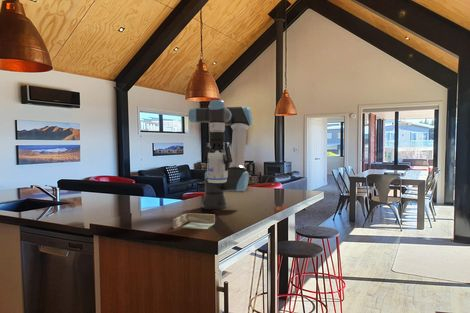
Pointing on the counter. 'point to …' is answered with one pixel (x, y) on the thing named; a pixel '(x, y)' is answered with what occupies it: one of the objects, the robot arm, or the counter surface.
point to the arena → (195, 221)
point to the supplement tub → (216, 168)
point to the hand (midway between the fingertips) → (217, 176)
